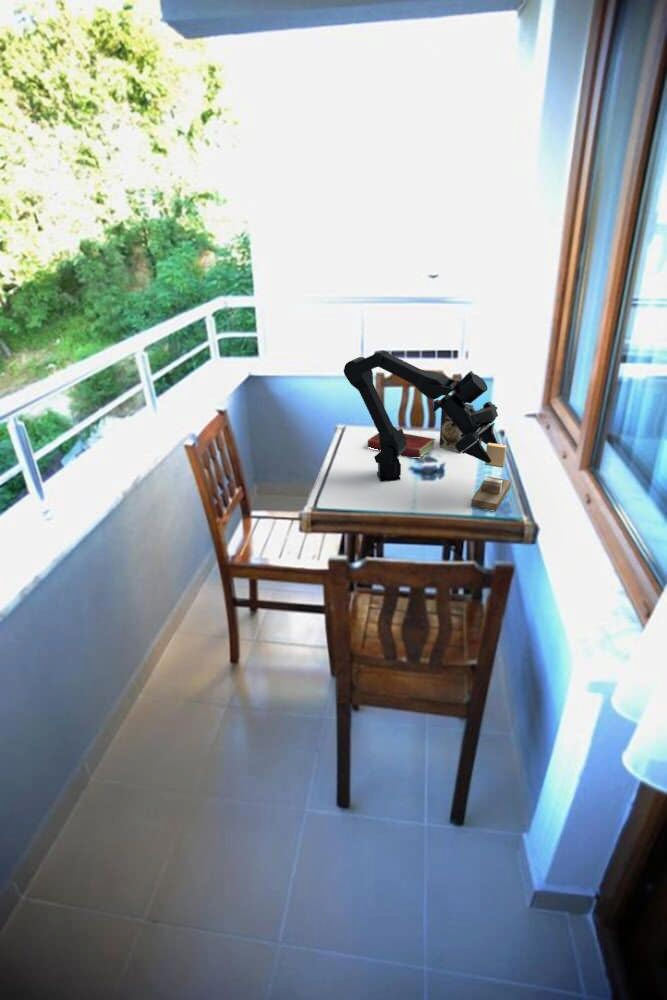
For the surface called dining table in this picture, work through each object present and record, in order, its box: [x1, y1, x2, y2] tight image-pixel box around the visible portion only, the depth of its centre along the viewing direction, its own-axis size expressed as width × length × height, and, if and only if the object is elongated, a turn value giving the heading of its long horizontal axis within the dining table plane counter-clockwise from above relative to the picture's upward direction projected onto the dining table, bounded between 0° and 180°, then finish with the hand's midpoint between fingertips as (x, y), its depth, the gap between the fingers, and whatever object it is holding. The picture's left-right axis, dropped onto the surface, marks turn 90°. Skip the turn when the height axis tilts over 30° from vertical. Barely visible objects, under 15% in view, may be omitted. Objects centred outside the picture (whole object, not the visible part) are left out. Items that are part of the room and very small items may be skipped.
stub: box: [484, 443, 508, 469], centre depth 140 cm, size 5×2×6 cm, turn 59°
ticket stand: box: [470, 476, 512, 512], centre depth 145 cm, size 7×16×6 cm, turn 149°
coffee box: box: [438, 403, 474, 454], centre depth 176 cm, size 9×6×16 cm
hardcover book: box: [367, 432, 436, 458], centre depth 181 cm, size 12×21×4 cm, turn 55°
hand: (494, 456), depth 140 cm, fingers open, 9 cm apart
